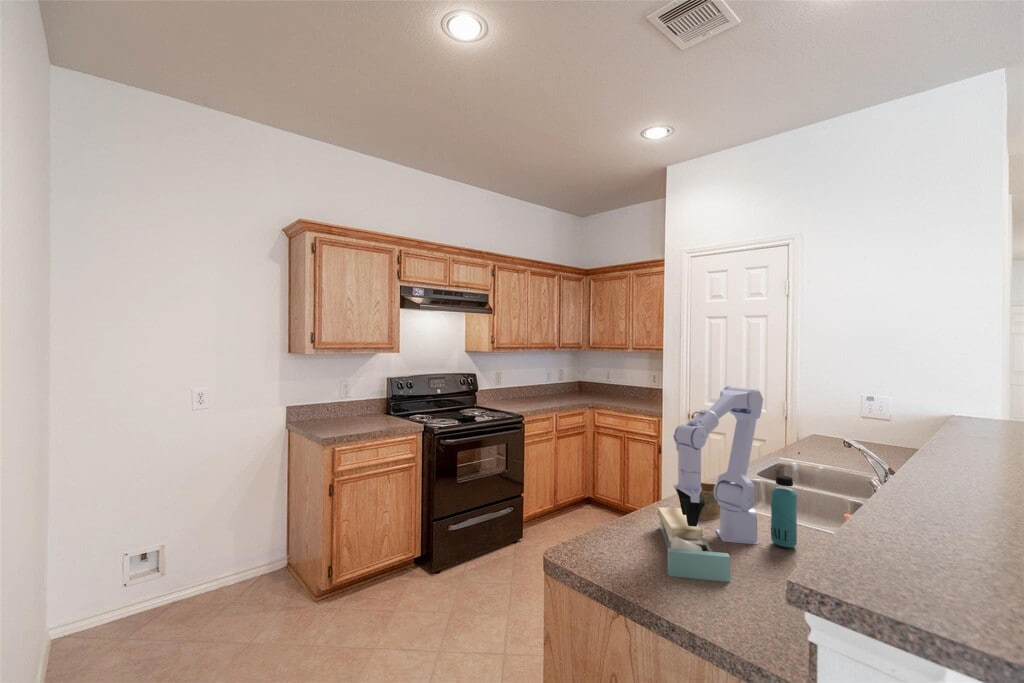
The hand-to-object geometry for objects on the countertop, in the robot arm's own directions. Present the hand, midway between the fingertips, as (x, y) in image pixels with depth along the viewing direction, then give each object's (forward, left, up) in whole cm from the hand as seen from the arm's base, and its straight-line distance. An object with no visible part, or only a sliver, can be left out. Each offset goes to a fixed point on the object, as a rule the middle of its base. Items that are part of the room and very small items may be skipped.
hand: (689, 520), depth 122 cm
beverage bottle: (-27, -10, -10) cm, 30 cm away
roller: (+2, +2, -7) cm, 8 cm away
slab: (+1, -8, -5) cm, 10 cm away
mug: (-14, -32, -10) cm, 36 cm away
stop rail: (0, +12, -9) cm, 15 cm away
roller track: (0, -3, -9) cm, 10 cm away
